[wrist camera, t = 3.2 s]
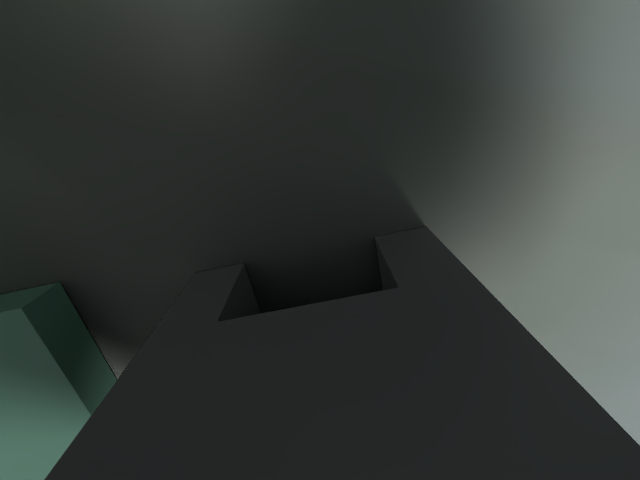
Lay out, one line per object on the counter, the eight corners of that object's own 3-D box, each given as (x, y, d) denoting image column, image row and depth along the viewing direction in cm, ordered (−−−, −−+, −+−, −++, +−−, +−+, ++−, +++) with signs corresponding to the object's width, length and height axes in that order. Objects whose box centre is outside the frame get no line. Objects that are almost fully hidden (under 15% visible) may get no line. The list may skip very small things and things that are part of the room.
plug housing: (426, 226, 8) (680, 487, 2) (446, 444, 11) (583, 789, 5) (195, 272, 8) (-37, 590, 3) (274, 471, 11) (236, 821, 6)
